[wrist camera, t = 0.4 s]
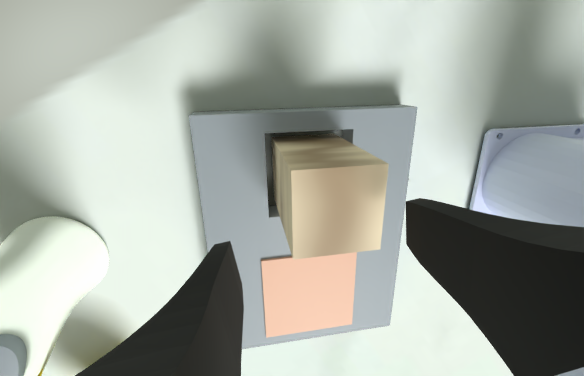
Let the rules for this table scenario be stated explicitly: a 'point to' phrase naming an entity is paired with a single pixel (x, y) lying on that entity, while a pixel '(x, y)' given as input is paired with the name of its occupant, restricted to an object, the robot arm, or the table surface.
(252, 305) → the pocket board
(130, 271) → the table surface
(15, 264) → the beer glass
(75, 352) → the table surface
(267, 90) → the table surface
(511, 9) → the table surface
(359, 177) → the peg
